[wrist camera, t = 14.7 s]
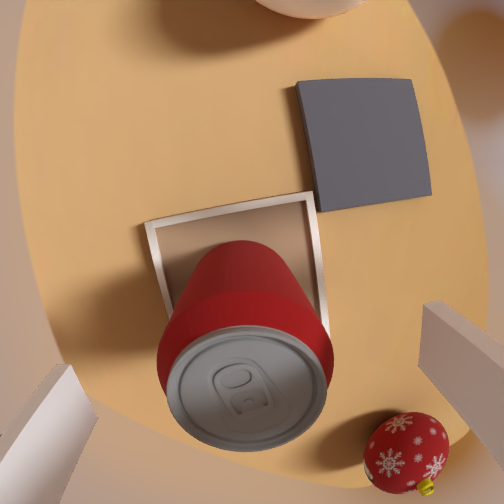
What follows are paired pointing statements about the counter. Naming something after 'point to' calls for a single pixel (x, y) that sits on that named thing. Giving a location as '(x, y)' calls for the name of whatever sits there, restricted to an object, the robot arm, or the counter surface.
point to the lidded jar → (311, 7)
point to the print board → (241, 228)
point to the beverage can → (244, 352)
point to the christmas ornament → (406, 453)
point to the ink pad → (363, 141)
